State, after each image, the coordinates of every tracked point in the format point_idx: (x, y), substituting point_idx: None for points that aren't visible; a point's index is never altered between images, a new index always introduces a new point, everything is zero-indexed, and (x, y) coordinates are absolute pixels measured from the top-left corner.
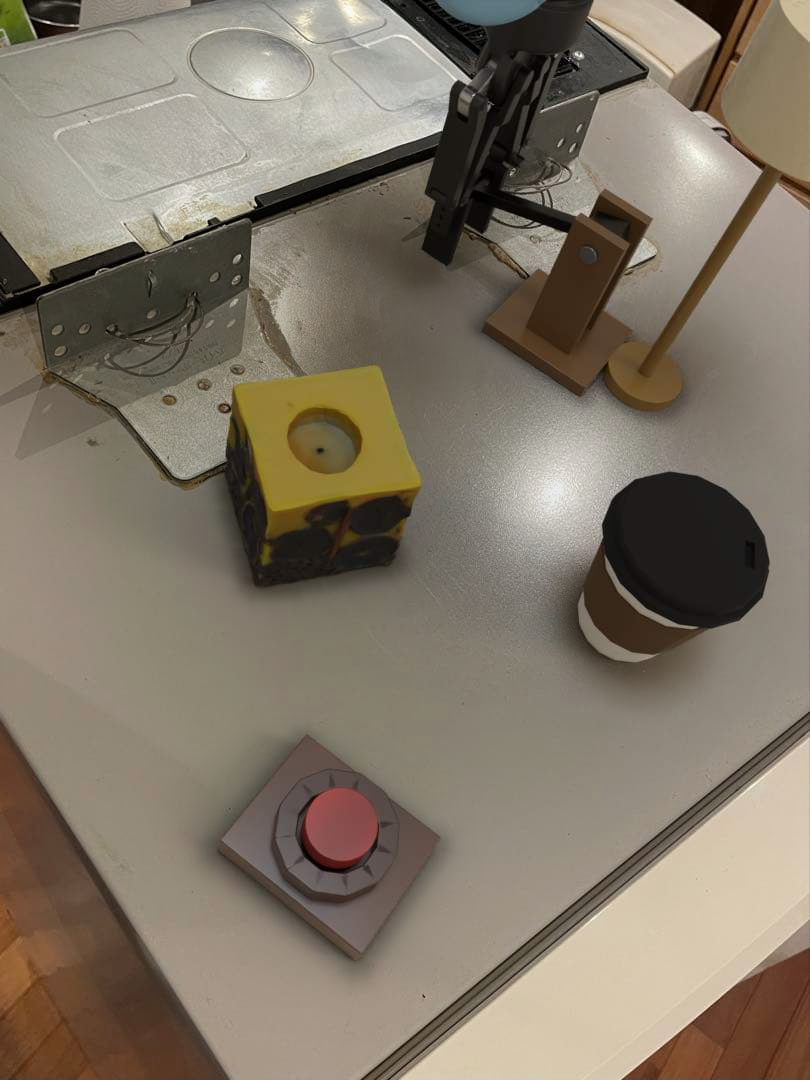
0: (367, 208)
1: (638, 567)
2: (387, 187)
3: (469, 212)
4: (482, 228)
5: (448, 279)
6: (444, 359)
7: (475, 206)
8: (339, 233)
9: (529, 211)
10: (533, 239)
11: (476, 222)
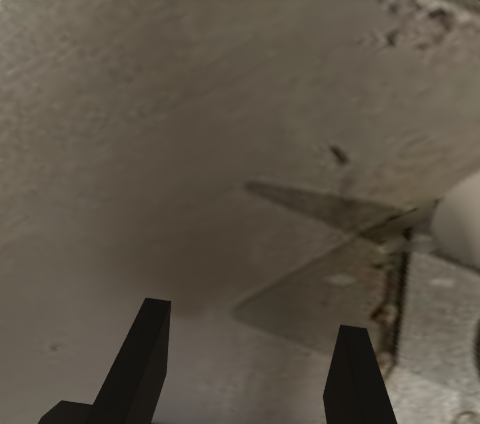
0: (300, 37)
1: None
2: (436, 38)
3: (340, 381)
4: (326, 406)
5: (207, 323)
6: (9, 392)
7: (342, 417)
8: (143, 25)
9: None
10: (465, 418)
11: (330, 394)
